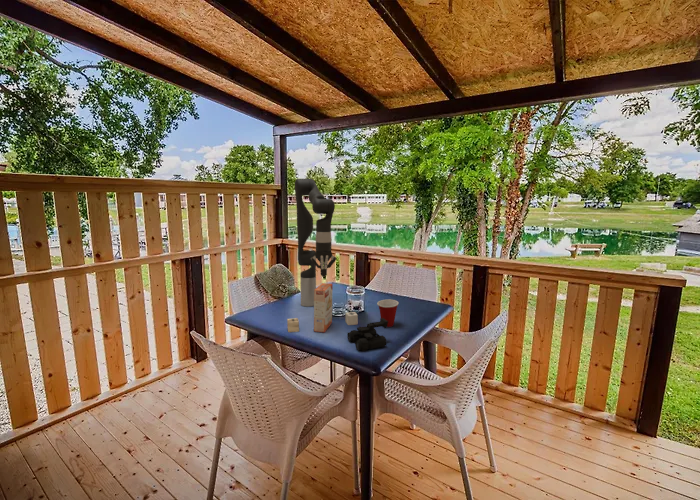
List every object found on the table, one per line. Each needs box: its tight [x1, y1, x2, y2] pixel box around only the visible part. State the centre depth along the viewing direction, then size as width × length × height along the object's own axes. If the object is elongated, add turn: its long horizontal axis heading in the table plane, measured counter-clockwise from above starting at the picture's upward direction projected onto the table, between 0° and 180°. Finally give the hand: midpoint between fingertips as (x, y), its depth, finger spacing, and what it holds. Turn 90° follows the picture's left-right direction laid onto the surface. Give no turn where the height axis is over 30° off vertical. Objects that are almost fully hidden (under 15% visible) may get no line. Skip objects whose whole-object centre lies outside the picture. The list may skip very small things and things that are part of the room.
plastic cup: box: [377, 299, 399, 328], centre depth 164 cm, size 11×11×12 cm
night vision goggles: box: [346, 317, 388, 352], centre depth 143 cm, size 14×16×10 cm
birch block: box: [286, 317, 300, 333], centre depth 157 cm, size 5×5×5 cm
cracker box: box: [313, 282, 334, 333], centre depth 160 cm, size 14×6×21 cm, turn 169°
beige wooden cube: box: [345, 311, 359, 326], centre depth 167 cm, size 5×5×5 cm
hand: (323, 276), depth 157 cm, fingers closed
